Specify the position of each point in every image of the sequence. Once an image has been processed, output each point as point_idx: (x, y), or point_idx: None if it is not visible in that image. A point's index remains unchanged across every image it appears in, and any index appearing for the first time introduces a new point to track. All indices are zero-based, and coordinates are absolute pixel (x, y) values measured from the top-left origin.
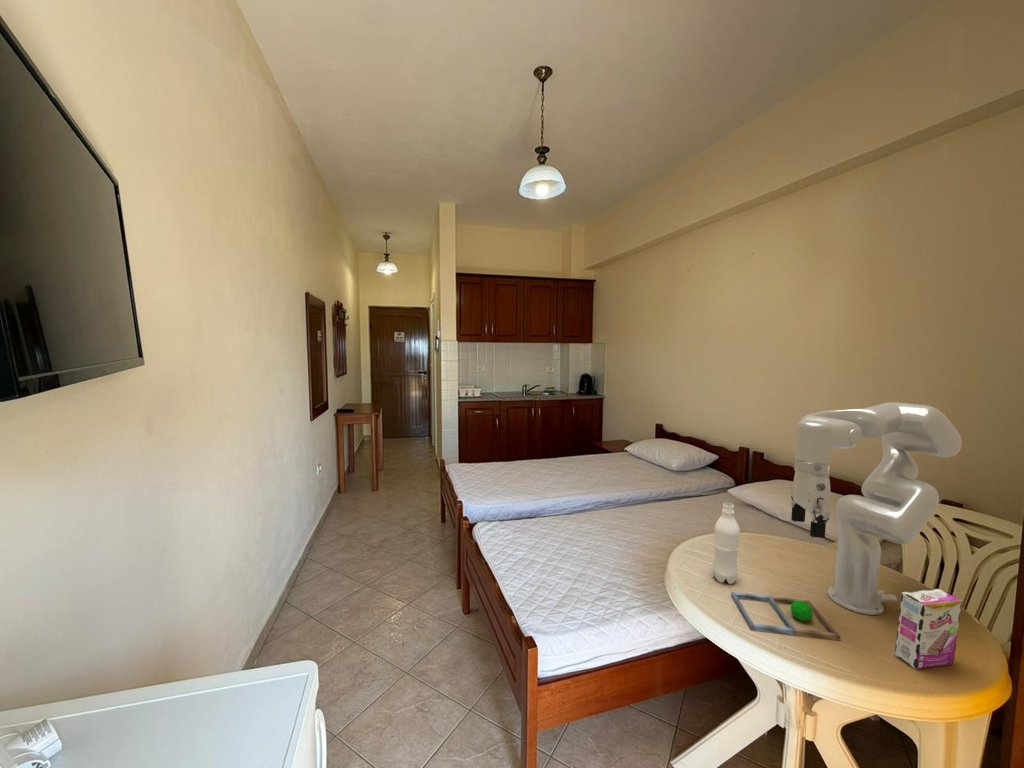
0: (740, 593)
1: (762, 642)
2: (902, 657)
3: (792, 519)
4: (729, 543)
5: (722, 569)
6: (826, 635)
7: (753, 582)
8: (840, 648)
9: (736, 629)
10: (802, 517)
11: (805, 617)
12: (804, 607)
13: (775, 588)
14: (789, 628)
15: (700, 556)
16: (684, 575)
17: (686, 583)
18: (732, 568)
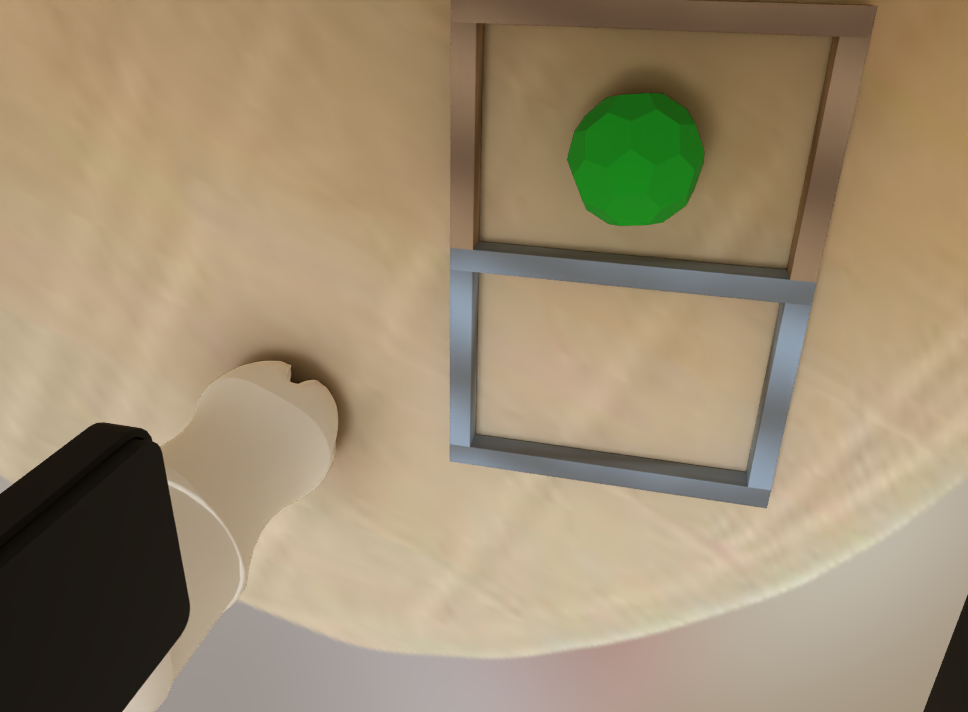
0: (454, 417)
1: (869, 486)
2: None
3: (167, 642)
4: (211, 610)
5: (299, 491)
6: (853, 102)
7: (272, 250)
8: (948, 56)
9: (761, 554)
10: (102, 541)
11: (700, 168)
12: (672, 176)
13: (307, 136)
14: (789, 313)
15: (68, 429)
16: (306, 585)
17: (381, 605)
18: (294, 454)
